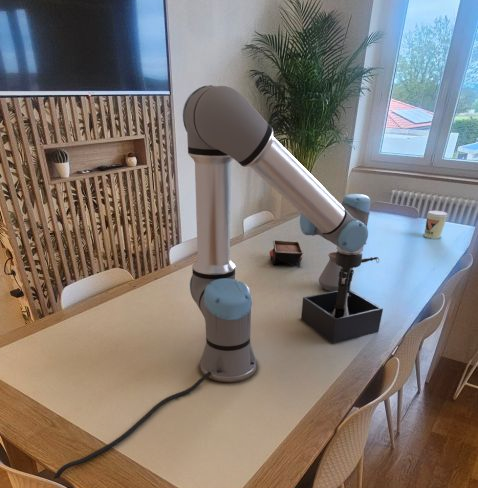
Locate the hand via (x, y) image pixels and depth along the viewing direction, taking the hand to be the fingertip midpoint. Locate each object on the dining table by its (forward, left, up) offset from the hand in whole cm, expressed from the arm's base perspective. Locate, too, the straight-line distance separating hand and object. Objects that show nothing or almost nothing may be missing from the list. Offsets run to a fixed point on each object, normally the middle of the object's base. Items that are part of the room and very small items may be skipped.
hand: (339, 321), depth 139 cm
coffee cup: (+104, +62, -2) cm, 121 cm away
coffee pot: (+19, +23, -2) cm, 30 cm away
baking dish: (+15, +60, -2) cm, 62 cm away
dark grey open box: (0, 0, -1) cm, 1 cm away
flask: (0, 0, -1) cm, 1 cm away
